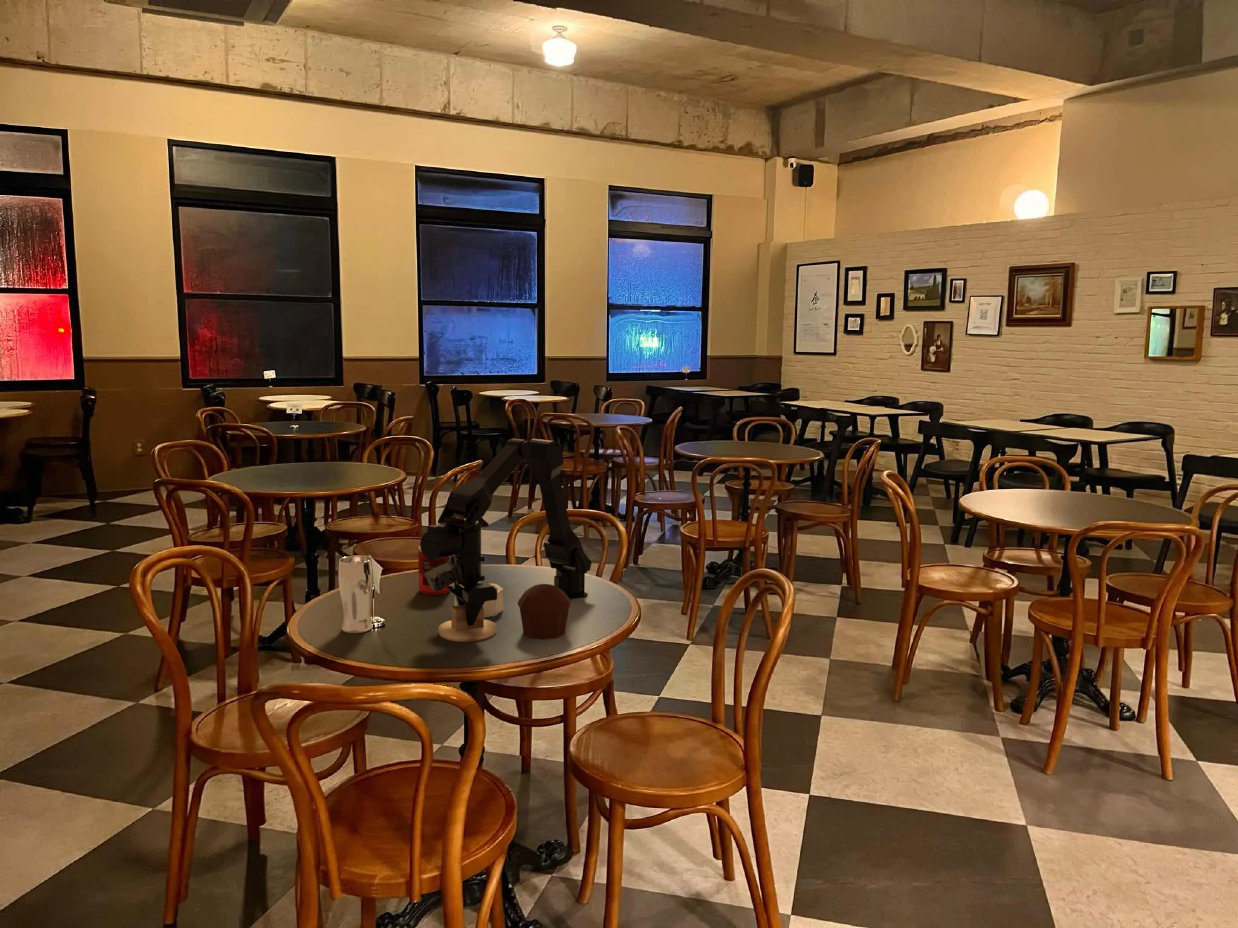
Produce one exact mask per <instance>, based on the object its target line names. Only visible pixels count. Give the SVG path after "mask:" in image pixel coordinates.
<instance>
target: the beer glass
mask: <svg viewBox="0 0 1238 928" xmlns="http://www.w3.org/2000/svg"><path fill="white" fill-rule="evenodd" d="M338 588H339V594H340V599H341V603H342V609H343V621H342V627H341V629H342V631H343V632H344V633H348V634H361V633H362V634H363V633H366V632H368V631H370V630H372V629H373V621H372V617H371V604H372V603H371V602H372V597H373V590H374V567H373V557H371V556H368V555H359V554H358V555H356V554H355V555H348V556H347V555H346V556H344V557H341V558H339V560H338Z"/></svg>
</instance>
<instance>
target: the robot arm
mask: <svg viewBox="0 0 1238 928" xmlns="http://www.w3.org/2000/svg"><path fill="white" fill-rule="evenodd" d="M562 447H563V446H562V444H561V443H559V442H558V441H557V440H548V439H539V438H531V439H530V440H529V441H528V440H526V439H520V438H519V439H518V438H511V439H507V441H506V442H505V444H504V447H503V448H502V449H501V450H500V451H499V452H498V453H497V454H495V455H496V456H494V457H493V458H492V459H491V461H490V462H489V463H488V464H487V465H486V466H485V467H484V469H483V470H482V471H480V473H479V474H478V475H477V476H476V477H474V478H473V479H472V480H469V481H467V482H465V483H462V484H461V485H459V486H458V487H457V488H456V489H454V490H453V491H451V493H450V495H449V496H448V498H447V501H446V504H445V506H444V508H443V510H442V512H441V513H440V516H439V518H438V520H437V524H431V525H427V527H426V528H427V530H426V532H424V534H422V536H421V540H420V541H419V546H420V548H421V551H422V553H423V555H424V556H425V557H426V558H427V559H428V560H436V559H440V558H444V557H447V556H449V562H448V563H446V564H443V565H440V566H438V567H436V568H434V569H432V570H430V571H428V572H426V573H425V575H426V578H427V580H428V583H429V586H430V588H432V589H433V590H434V591H436V592H437V591H440V590H442V589H443V588H445V587H447V589H448V590H450V591H449V592H451V593H452V594H453V595H455V597H456V600H457V604H458V605H465V612H466V619H467V624H468V626H472V625H474V622H475V620H476V618H477V616H478V614H479V612H480V610H481V608H482V606H483V604H484V603H485V601H491V600H496V599H497V589H496V588H494V587H493V586H492V585H491V584H492V583H490V584H489V582H488V581H486V580H485V577H486V576H485V575H484V574H483V573H482V562H485V556H484V555H483V554H482V529H483V528H487V527H489V526H490V524H489V522H487V521H486V520H485V519H484V518H483V517H484V516H485V515H486V513H487V511H488V510H489V508H490V506H491V505H492V502H493V495H494V494H495V492H496V491H497V490H498V489H499V488H500V486H502V484H504V482H505V481H506V480H507V478H509V477H510V475H511V474H512V473H513V472H514V471H515V470H516V468H517V467H518V466H519V465H520V464H521V463H522V462H523V460H524V459H525V461H526V465H527V466H528V469H529V470H530V471H531V472H532V474H533V475H534V476H535V477H536V478H537V481H538V484H539V490H540V494H541V500H542V503H543V507H544V512H545V515H546V520H547V521H546V522H547V525H548V529H549V534H548V537H547V540H546V541H545V542H543V545H542V546H543V548H544V552H545V553H544V554H545V556H544V557H545V558H547V559H548V560H547V561H549V562H548V563H549V564H550V565H549V566H550V569H555V575H554V577H553V579H554V580H553V585H554V586H557V587H558V588H560V589H561V590H562V591H564V592H565V593H566V595H567V596H568V597H569V599H574V598H575V599H576V598H581V597H588V595H589V593H588V592H586V591H585V587H586V586H585V585H586V584H585V583H586V580H585V577H586V574H587V573H588V572H589V571H591V567H592V561H591V559H590V558H589V557H588V555H587V554H586V553H585V551H584V548H583V545H582V542H581V539H580V538H579V536H578V535H577V534H576V533H575V531H573V529H572V528H571V524H570V519H569V516H568V515H569V514H568V510H567V505H566V500H565V495H564V491H563V485H562V482H561V476H560V473H561V472H562V471H561V470H562V468H563V466H564V453H563V452H564V451H563V448H562ZM483 581H484V582H483ZM480 582H481V583H480ZM449 585H450V586H449Z"/></svg>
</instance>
